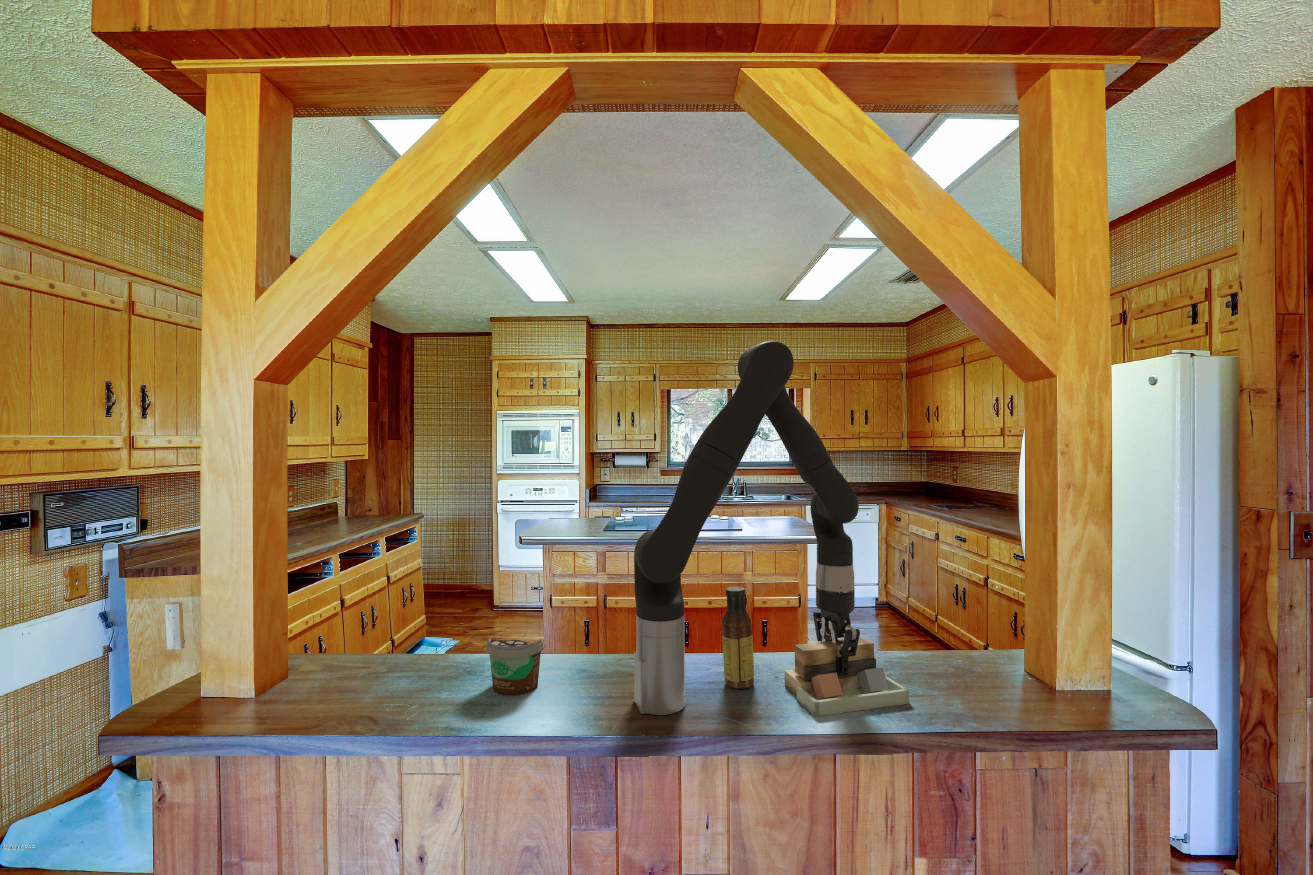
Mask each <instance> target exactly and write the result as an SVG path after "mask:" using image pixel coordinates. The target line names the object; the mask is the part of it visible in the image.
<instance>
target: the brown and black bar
mask: <svg viewBox="0 0 1313 875" xmlns="http://www.w3.org/2000/svg"><path fill="white" fill-rule="evenodd" d="M840 646H841V650H842V647H843V644H841V645H840ZM850 650H851V647H850ZM836 656H837V654H836V648H835V645H834V644H833V643H832V641H828V642H821V641H820V642H818V641H817V642H811V643H809V642H808V643H800V644H794V669H795V673H797V674H798V675H799V676H800V677H802V678H803V679H804V680H811V678H813V677H815V676H817V675H822V674H830V673H836ZM876 668H877V659H876V658H875V643H874V642H873V641H871V640H869V639H868V638H865V637H859V641H858V646H857V651H856V655H855V656H849V657H848V674H847V675H851V674H857V673H858V672H860V671H863V670H867V669H876ZM837 676H839V675H838V674H837Z"/></svg>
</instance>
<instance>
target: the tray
mask: <svg viewBox="0 0 1313 875" xmlns="http://www.w3.org/2000/svg"><path fill="white" fill-rule="evenodd" d="M885 677H886V680H887V683H888V687H889V690H886V691H883V692H876V693H869V694H863V691H862V689H856V690H848V691H842V693H843V695H841V696H839V697H836V698H830V699H823V700H817V698H816V695H810V694H809V693H807V692H806V691H805V690H804V689H803V688H801V687H797V695H796V701H797V702H798V703H800V705H801V706H802V707H804V708H805V709H806V710H807V711H808V712H810V713H811V714H812V715H813V717H820V716H826V715H827V716H828V715H836V714H841V713H850V712H857V711H863V710H865V711H866V710H870V709H871V710H872V709H878V708H879V709H880V708H885V707H893V706H901V705H907V704H908V705H909V704H910V690H909V689H908V688H906V687H904V686H903V685H901V684H900V683H898V682H896V681H895V680H893V679H891V678H890V677H888V676H886V675H885Z"/></svg>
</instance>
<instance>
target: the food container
mask: <svg viewBox="0 0 1313 875" xmlns="http://www.w3.org/2000/svg"><path fill="white" fill-rule="evenodd" d="M542 640H543V639H542V638H540V639H539V640H537V641H534V642H527V641H524V640H519V639H509V640H501V639H498V640H497V639H494V638H493V635H490V636H489V638H488V640H487V642H486V648H485V652H486V653H487V654H488V655H489V659H490V660H489V662H490V670H491V671H490V672H491V681H492V690H493V692H494V693H496V694H497V695H501V696H508V697H509V696H510V697H513V696H521V694H522V695H525V693H526V694H528V692H529V693H531V692H533V691H535V690H536V689H538V688H537V687H538V686H539V678H540V677H539V676H540V666H541V665H540V663H541V654H542V651H544V650H545V648H544V647H545V646H544V642H543V641H542ZM534 689H535V690H534Z"/></svg>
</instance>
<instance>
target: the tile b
mask: <svg viewBox="0 0 1313 875" xmlns="http://www.w3.org/2000/svg"><path fill="white" fill-rule="evenodd" d="M857 674H858V678H859V681H860V684H861V688H862V691H863V694H869V693H876V692H883V691H886V690H889V687H888V683H887V680H886V677H885V676H886V675H885V671H884V668H883V667H876V669H867V670H863V671H860V672H858V673H857Z"/></svg>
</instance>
